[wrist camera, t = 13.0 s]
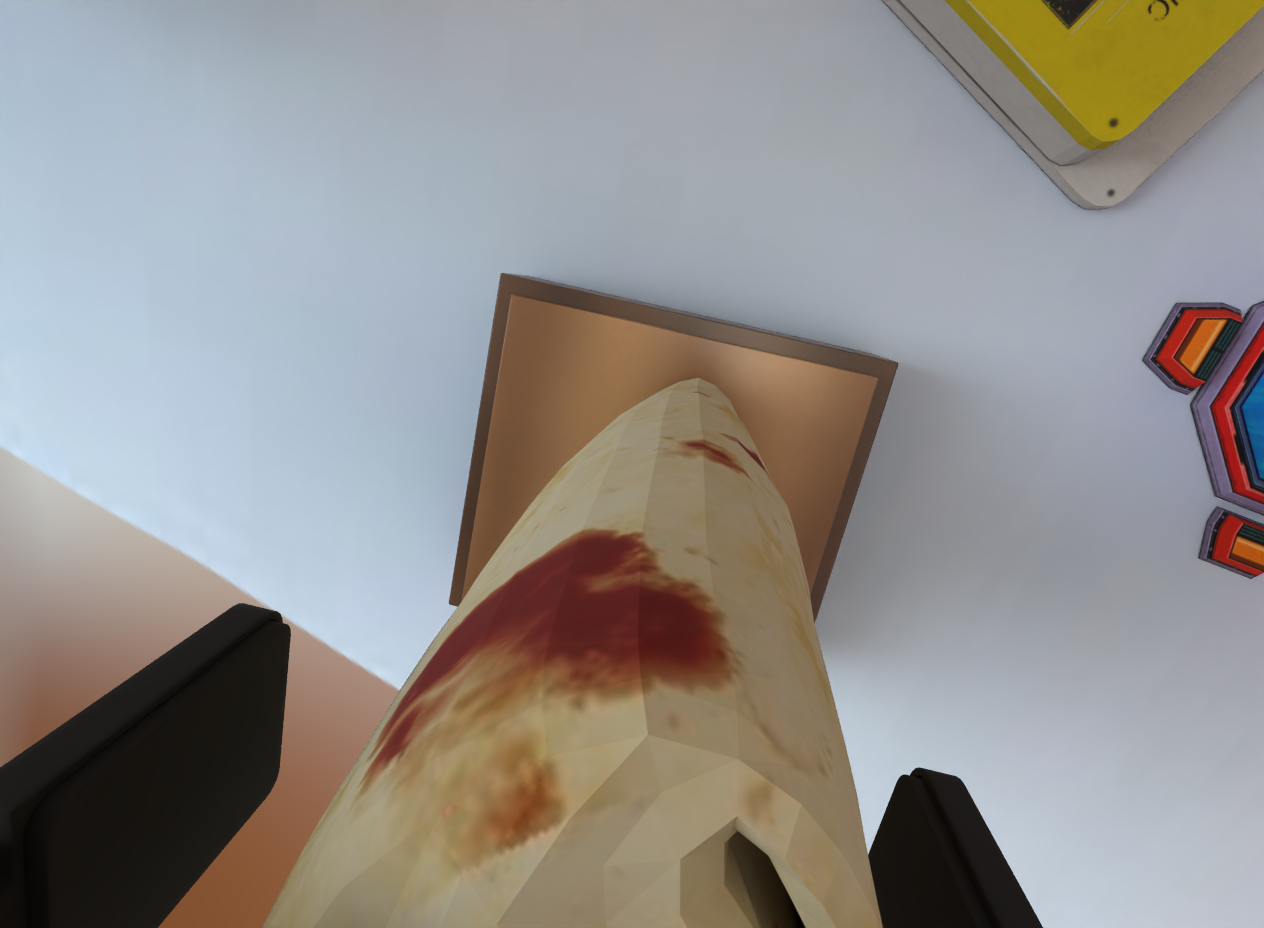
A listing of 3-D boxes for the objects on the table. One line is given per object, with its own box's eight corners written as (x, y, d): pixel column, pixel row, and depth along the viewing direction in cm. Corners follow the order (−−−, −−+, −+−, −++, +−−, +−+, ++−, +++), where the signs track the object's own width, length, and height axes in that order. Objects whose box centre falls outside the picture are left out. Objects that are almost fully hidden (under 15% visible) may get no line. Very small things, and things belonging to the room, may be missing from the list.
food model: (635, 330, 23) (259, 540, 3) (805, 423, 23) (1391, 1132, 4) (515, 561, 25) (-90, 1438, 6) (669, 643, 25) (576, 1749, 6)
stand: (477, 568, 30) (444, 609, 26) (526, 275, 26) (496, 272, 23) (782, 643, 29) (795, 696, 25) (872, 354, 26) (902, 364, 22)
